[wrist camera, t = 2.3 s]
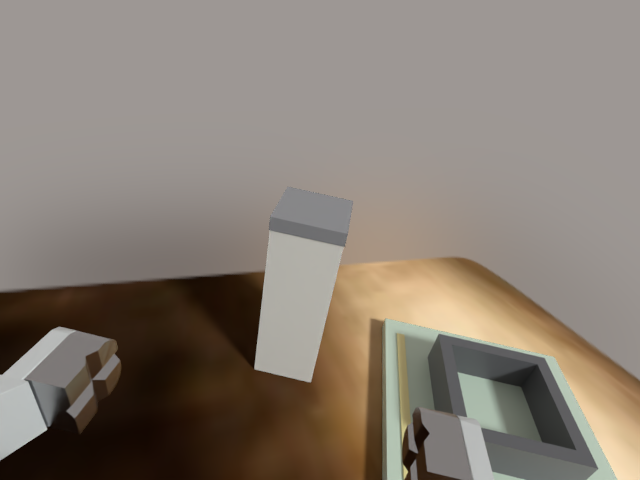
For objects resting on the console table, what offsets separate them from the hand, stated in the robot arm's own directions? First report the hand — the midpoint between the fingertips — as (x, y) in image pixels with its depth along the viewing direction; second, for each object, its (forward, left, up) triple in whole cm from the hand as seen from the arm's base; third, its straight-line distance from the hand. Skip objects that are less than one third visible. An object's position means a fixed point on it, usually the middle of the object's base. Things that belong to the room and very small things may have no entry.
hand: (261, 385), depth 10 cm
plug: (0, +12, -13) cm, 18 cm away
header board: (+14, +10, -13) cm, 21 cm away
